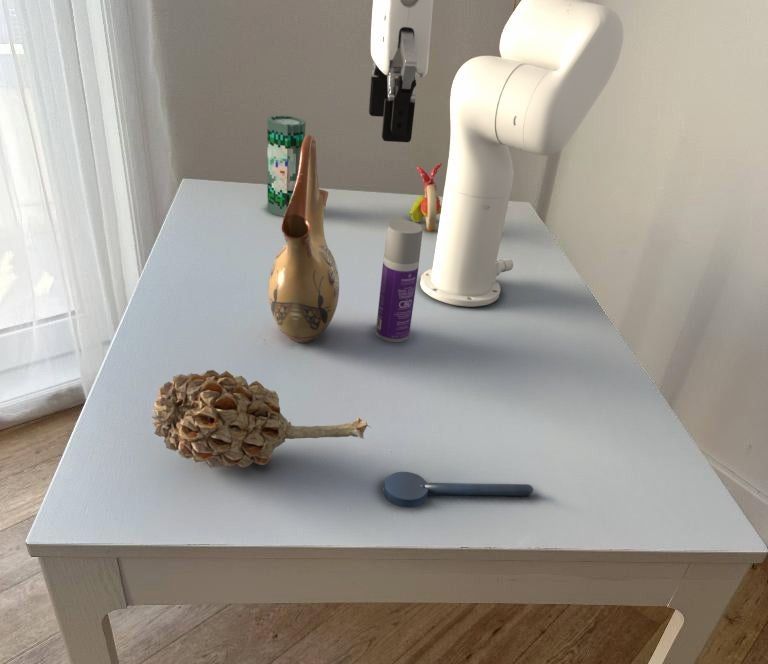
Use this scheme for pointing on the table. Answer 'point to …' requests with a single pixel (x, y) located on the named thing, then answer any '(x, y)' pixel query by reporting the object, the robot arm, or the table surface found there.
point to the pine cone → (229, 420)
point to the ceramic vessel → (304, 259)
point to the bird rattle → (427, 201)
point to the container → (398, 280)
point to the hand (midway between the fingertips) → (388, 127)
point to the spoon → (441, 489)
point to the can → (283, 159)
